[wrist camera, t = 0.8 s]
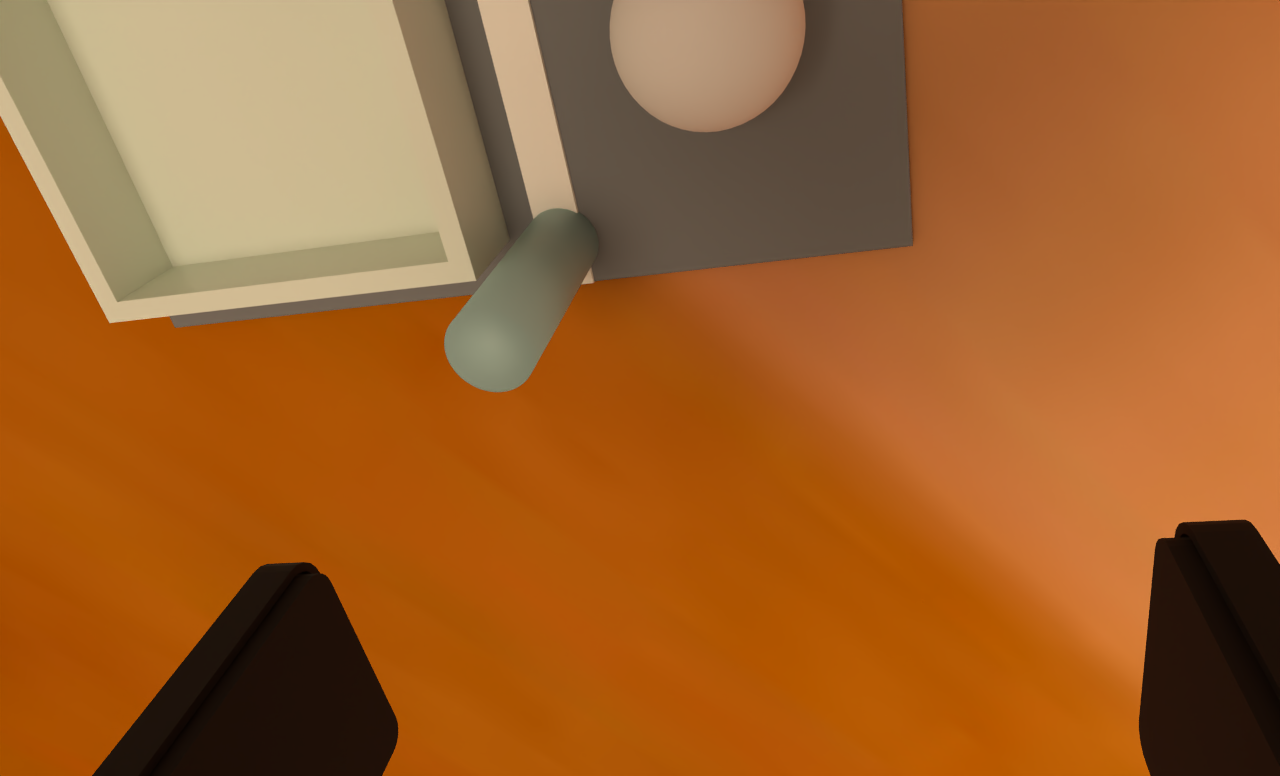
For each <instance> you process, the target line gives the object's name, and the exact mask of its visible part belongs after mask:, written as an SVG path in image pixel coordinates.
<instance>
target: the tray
mask: <svg viewBox="0 0 1280 776" xmlns="http://www.w3.org/2000/svg"><path fill="white" fill-rule="evenodd" d="M0 116H1V118H2V120H3V122H4V123H5V125H6V127H7V129H8V131H9V133H10V135H11V137H12V139H13V141H14V142H15V144H16V146H17V148H18V150H19V152H20V154H21V156H22V158H23V160H24V161H25V163H26V165H27V167H28V169H29V171H30V173H31V175H32V177H33V179H34V180H35V182H36V184H37V186H38V188H39V190H40V192H41V194H42V196H43V197H44V199H45V201H46V203H47V205H48V207H49V209H50V211H51V213H52V215H53V216H54V218H55V220H56V222H57V224H58V226H59V228H60V230H61V232H62V234H63V235H64V237H65V239H66V241H67V243H68V245H69V247H70V249H71V251H72V253H73V254H74V256H75V258H76V260H77V262H78V264H79V266H80V268H81V270H82V271H83V273H84V275H85V277H86V279H87V281H88V283H89V285H90V287H91V289H92V290H93V292H94V294H95V296H96V298H97V300H98V302H99V304H100V306H101V308H102V309H103V311H104V313H105V315H106V317H107V319H108V321H109V323H113V322H122V321H130V320H139V319H148V318H156V317H165V316H174V315H182V314H191V313H200V312H209V311H217V310H226V309H235V308H243V307H252V306H261V305H269V304H278V303H287V302H296V301H304V300H313V299H322V298H330V297H339V296H348V295H357V294H365V293H374V292H383V291H391V290H400V289H409V288H417V287H426V286H435V285H444V284H452V283H461V282H470V281H477V279H478V278H479V277H480V276H481V274H482V273H483V272H484V271H485V269H486V268H487V267H488V266H489V265H490V263H491V262H492V261H493V260H494V258H495V257H496V256H497V255H498V254H499V252H500V251H501V250H502V249H503V247H504V246H505V245H506V244H507V242H508V241H509V240H510V238H509V235H508V231H507V227H506V224H505V220H504V216H503V213H502V209H501V205H500V202H499V198H498V194H497V191H496V187H495V183H494V180H493V176H492V172H491V169H490V165H489V162H488V158H487V154H486V151H485V147H484V143H483V140H482V136H481V132H480V129H479V125H478V121H477V118H476V114H475V110H474V107H473V103H472V99H471V96H470V92H469V88H468V85H467V81H466V78H465V74H464V70H463V67H462V63H461V59H460V56H459V52H458V48H457V45H456V41H455V37H454V34H453V30H452V26H451V23H450V19H449V15H448V12H447V8H446V4H445V1H444V0H0Z"/></svg>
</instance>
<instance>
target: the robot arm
mask: <svg viewBox="0 0 1280 776" xmlns="http://www.w3.org/2000/svg"><path fill="white" fill-rule="evenodd" d="M1139 733H1140V741H1141V746H1142V750H1143V755H1144V758H1145V761H1146V764H1147V767H1148V770H1149V772H1150V775H1151V776H1280V564H1279V563H1278V561H1277V560H1276V558H1275V557H1274V555H1273V554H1272V552H1271V551H1270V549H1269V547H1268V546H1267V544H1266V543H1265V541H1264V540H1263V538H1262V537H1261V535H1260V534H1259V532H1258V531H1257V529H1256V528H1255V527H1254V526H1253V524H1252V523H1251V522H1249V521H1247V520H1227V521H1205V522H1183V523H1180V524H1179V525H1178V527H1177V529H1176V532H1175V537H1174V538H1161V539H1158V541H1157V543H1156V547H1155V555H1154V566H1153V577H1152V587H1151V598H1150V609H1149V619H1148V630H1147V641H1146V651H1145V662H1144V673H1143V683H1142V694H1141V705H1140V715H1139ZM397 738H398V723H397V719H396V716H395V714H394V712H393V710H392V708H391V706H390V704H389V702H388V700H387V698H386V696H385V694H384V691H383V689H382V687H381V685H380V683H379V681H378V679H377V677H376V675H375V673H374V671H373V669H372V667H371V664H370V662H369V660H368V658H367V656H366V654H365V652H364V650H363V648H362V646H361V644H360V642H359V639H358V637H357V635H356V633H355V631H354V629H353V627H352V625H351V623H350V621H349V619H348V617H347V614H346V612H345V610H344V608H343V606H342V604H341V602H340V600H339V598H338V596H337V594H336V592H335V589H334V587H333V585H332V583H331V581H330V580H329V578H328V577H327V576H326V575H324V574H320V572H319V571H318V569H317V568H316V567H315V566H314V565H312V564H311V563H305V562H301V563H279V564H266V565H263V566H261V567H259V568H258V569H257V570H256V571H255V572H254V573H253V574H252V576H251V577H250V578H249V579H248V581H247V582H246V583H245V584H244V586H243V587H242V588H241V589H240V591H239V592H238V593H237V594H236V596H235V597H234V598H233V599H232V601H231V602H230V603H229V604H228V606H227V607H226V608H225V609H224V611H223V612H222V613H221V615H220V616H219V617H218V618H217V620H216V621H215V622H214V623H213V625H212V626H211V627H210V628H209V630H208V631H207V632H206V633H205V635H204V636H203V637H202V638H201V640H200V641H199V642H198V643H197V645H196V646H195V647H194V648H193V650H192V651H191V652H190V653H189V655H188V656H187V657H186V658H185V660H184V661H183V662H182V663H181V665H180V666H179V667H178V669H177V670H176V671H175V672H174V674H173V675H172V676H171V677H170V679H169V680H168V681H167V682H166V684H165V685H164V686H163V687H162V689H161V690H160V691H159V692H158V694H157V695H156V696H155V697H154V699H153V700H152V701H151V702H150V704H149V705H148V706H147V707H146V709H145V710H144V711H143V712H142V714H141V715H140V716H139V717H138V719H137V720H136V721H135V723H134V724H133V725H132V726H131V728H130V729H129V730H128V731H127V733H126V734H125V735H124V736H123V738H122V739H121V740H120V741H119V743H118V744H117V745H116V746H115V748H114V749H113V750H112V751H111V753H110V754H109V755H108V756H107V758H106V759H105V760H104V761H103V763H102V764H101V765H100V766H99V768H98V769H97V770H96V771H95V773H94V774H93V775H92V776H382V775H383V772H384V770H385V768H386V766H387V764H388V762H389V760H390V758H391V756H392V754H393V752H394V749H395V746H396V743H397Z"/></svg>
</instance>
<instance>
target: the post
mask: <svg viewBox="0 0 1280 776" xmlns="http://www.w3.org/2000/svg"><path fill="white" fill-rule="evenodd" d="M598 248H599V241H598V236H597V233H596V230H595V228H594V227H593V225H592V223H591V222H590V221H589V220H588V219H587V218H586V217H585V216H584V215H583V214H581V213H580V212H578V213H575V212H573V211H571V210H568V209H562V208H554V209H549V210H546V211H543V212H542V213H540V214H539V215H537V216H536V217H535V218H534V219H533V220H532V222H531V223H530V224H529V225H528V227H527V228H526V229H525V230H524V232H523V233H522V234H521V236H520V237H519V238H518V239H517V241H516V242H515V243H514V244H513V246H512V247H511V248H510V249H509V251H508V252H507V253H506V254H505V256H504V257H503V258H502V259H501V261H500V262H499V263H498V264H497V266H496V267H495V268H494V269H493V271H492V272H491V273H490V275H489V276H488V277H487V278H486V280H485V281H484V282H483V283H482V285H481V286H480V287H479V288H478V290H477V291H476V292H475V293H474V295H473V296H472V297H471V298H470V300H469V301H468V302H467V303H466V305H465V306H464V307H463V308H462V310H461V311H460V312H459V313H458V315H457V316H456V317H455V319H454V320H453V321H452V322H451V324H450V325H449V327H448V329H447V331H446V334H445V340H444V346H445V352H446V356H447V358H448V361H449V363H450V365H451V366H452V368H453V369H454V370H455V372H456V373H457V374H458V375H459V376H460V377H461V378H462V379H463V380H465V381H466V382H468V383H469V384H471V385H473V386H475V387H477V388H479V389H482V390H486V391H491V392H504V391H509V390H513V389H515V388H517V387H519V386H520V385H522V384H523V383H524V382H525V381H526V380H527V379H528V378H529V376H530V374H531V373H532V371H533V369H534V367H535V366H536V364H537V362H538V360H539V359H540V357H541V355H542V353H543V351H544V350H545V348H546V346H547V344H548V343H549V341H550V339H551V337H552V335H553V334H554V332H555V330H556V328H557V327H558V325H559V323H560V321H561V319H562V318H563V316H564V314H565V312H566V310H567V309H568V307H569V305H570V303H571V302H572V300H573V298H574V296H575V294H576V293H577V291H578V289H579V287H580V286H581V284H582V282H583V280H584V278H585V277H586V275H587V273H588V271H589V270H590V268H591V266H592V264H593V262H594V261H595V259H596V256H597V254H598Z"/></svg>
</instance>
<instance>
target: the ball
mask: <svg viewBox="0 0 1280 776" xmlns="http://www.w3.org/2000/svg"><path fill="white" fill-rule="evenodd" d="M805 28H806V26H805V10H804V3H803V0H613V4H612V9H611V16H610V44H611V51H612V55H613V59H614V63H615V66H616V69H617V71H618V74H619V76H620V78H621V80H622V82H623V84H624V85H625V87H626V89H627V90H628V91H629V93H630V94H631V96H632V97H633V98H634V99H635V100H636V101H637V103H638V104H639V105H640V106H641V107H642V108H644V109H645V110H646V111H647V112H648V113H649V114H651V115H652V116H654V117H655V118H657V119H658V120H660V121H662V122H664V123H666V124H668V125H670V126H673V127H676V128H679V129H682V130H688V131H693V132H716V131H722V130H726V129H730V128H733V127H736V126H739V125H742V124H744V123H746V122H748V121H749V120H751V119H753V118H755V117H756V116H758V115H759V114H761V113H762V112H764V111H765V110H766V109H767V108H768V107H769V106H770V105H772V104H773V103H774V102H775V101H776V99H777V98H778V97H779V96H780V95H781V94H782V92H783V91H784V89H785V88H786V86H787V85H788V83H789V82H790V80H791V78H792V76H793V74H794V72H795V70H796V68H797V65H798V63H799V60H800V57H801V54H802V49H803V45H804V39H805Z"/></svg>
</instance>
